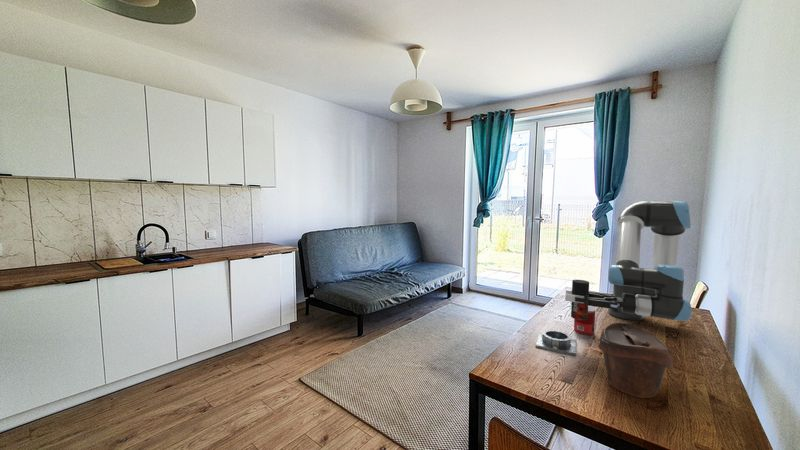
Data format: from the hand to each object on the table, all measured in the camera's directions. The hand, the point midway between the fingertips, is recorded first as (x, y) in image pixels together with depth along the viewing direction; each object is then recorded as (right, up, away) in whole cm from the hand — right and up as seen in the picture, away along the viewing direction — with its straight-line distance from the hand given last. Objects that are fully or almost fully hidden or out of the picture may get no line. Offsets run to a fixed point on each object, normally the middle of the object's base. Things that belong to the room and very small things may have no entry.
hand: (565, 295), depth 128 cm
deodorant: (+4, -9, -2) cm, 10 cm away
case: (+5, -23, -30) cm, 38 cm away
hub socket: (-4, -20, 0) cm, 21 cm away
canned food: (+15, -20, +13) cm, 28 cm away
